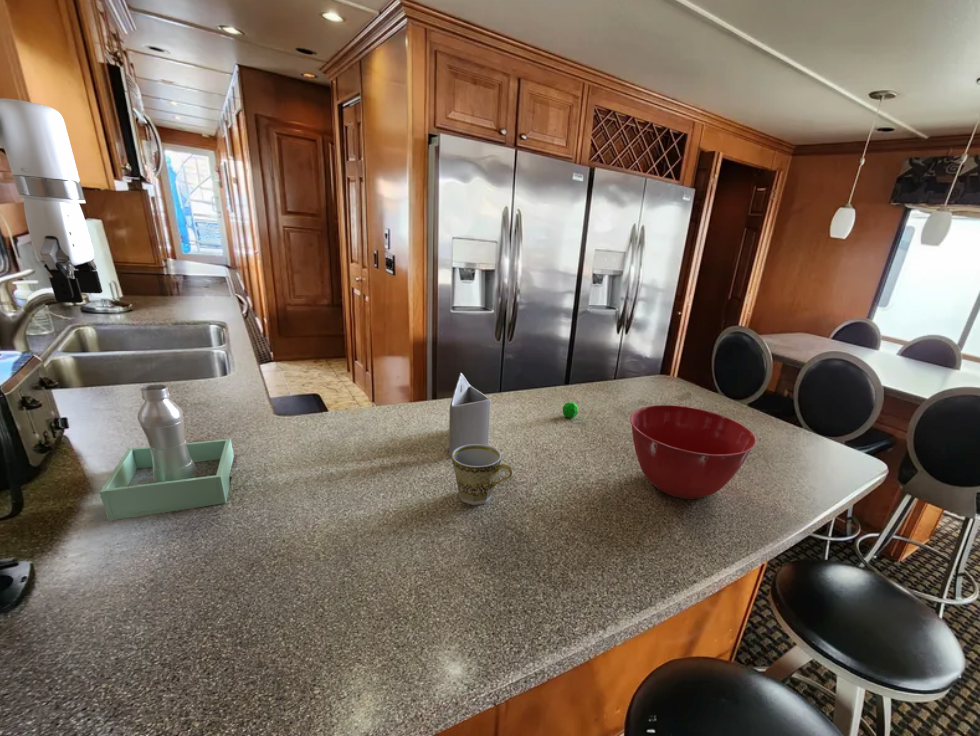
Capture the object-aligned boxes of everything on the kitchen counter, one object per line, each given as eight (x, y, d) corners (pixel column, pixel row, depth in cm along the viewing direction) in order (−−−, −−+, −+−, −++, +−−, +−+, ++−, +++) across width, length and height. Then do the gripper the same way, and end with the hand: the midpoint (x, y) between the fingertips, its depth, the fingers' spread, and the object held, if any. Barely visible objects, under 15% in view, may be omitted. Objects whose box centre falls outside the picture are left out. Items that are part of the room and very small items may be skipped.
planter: (480, 462, 111) (483, 387, 104) (448, 458, 111) (449, 382, 104) (495, 435, 126) (498, 367, 119) (466, 431, 126) (468, 363, 119)
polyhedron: (562, 413, 146) (564, 399, 144) (578, 415, 146) (579, 401, 144) (560, 418, 142) (562, 404, 140) (576, 421, 141) (578, 406, 139)
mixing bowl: (597, 477, 110) (606, 418, 104) (659, 446, 130) (669, 396, 124) (705, 535, 93) (723, 468, 87) (757, 489, 113) (775, 432, 107)
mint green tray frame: (108, 520, 78) (99, 491, 76) (135, 474, 92) (128, 448, 90) (226, 503, 86) (220, 476, 84) (235, 462, 100) (230, 438, 97)
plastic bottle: (165, 498, 84) (139, 396, 77) (149, 485, 88) (123, 386, 80) (205, 484, 90) (184, 388, 82) (189, 472, 93) (167, 379, 85)
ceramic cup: (441, 501, 94) (442, 458, 90) (466, 479, 103) (468, 439, 99) (498, 519, 90) (501, 475, 86) (519, 495, 99) (522, 454, 95)
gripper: (42, 188, 80) (71, 289, 86) (-11, 186, 66) (28, 306, 72) (99, 194, 83) (123, 290, 90) (61, 193, 69) (92, 307, 76)
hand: (81, 297), depth 81 cm, fingers open, 9 cm apart
